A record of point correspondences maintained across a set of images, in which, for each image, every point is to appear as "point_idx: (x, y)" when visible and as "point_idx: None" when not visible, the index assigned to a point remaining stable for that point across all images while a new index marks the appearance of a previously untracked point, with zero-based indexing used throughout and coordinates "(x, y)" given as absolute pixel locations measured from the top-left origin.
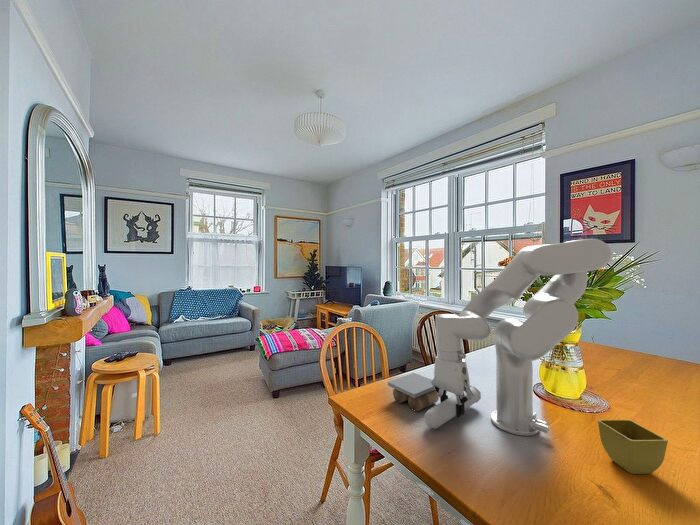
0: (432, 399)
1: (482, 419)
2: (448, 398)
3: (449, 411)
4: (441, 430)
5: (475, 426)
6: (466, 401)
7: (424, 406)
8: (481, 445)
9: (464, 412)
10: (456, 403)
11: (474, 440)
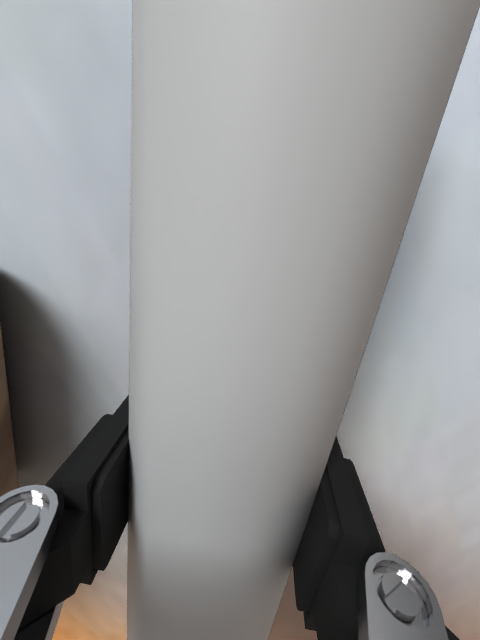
0: None
1: (436, 247)
2: (152, 562)
3: (267, 636)
4: None
5: (402, 388)
6: (353, 367)
7: (10, 460)
8: (469, 538)
9: (350, 463)
10: (278, 551)
11: (426, 522)
